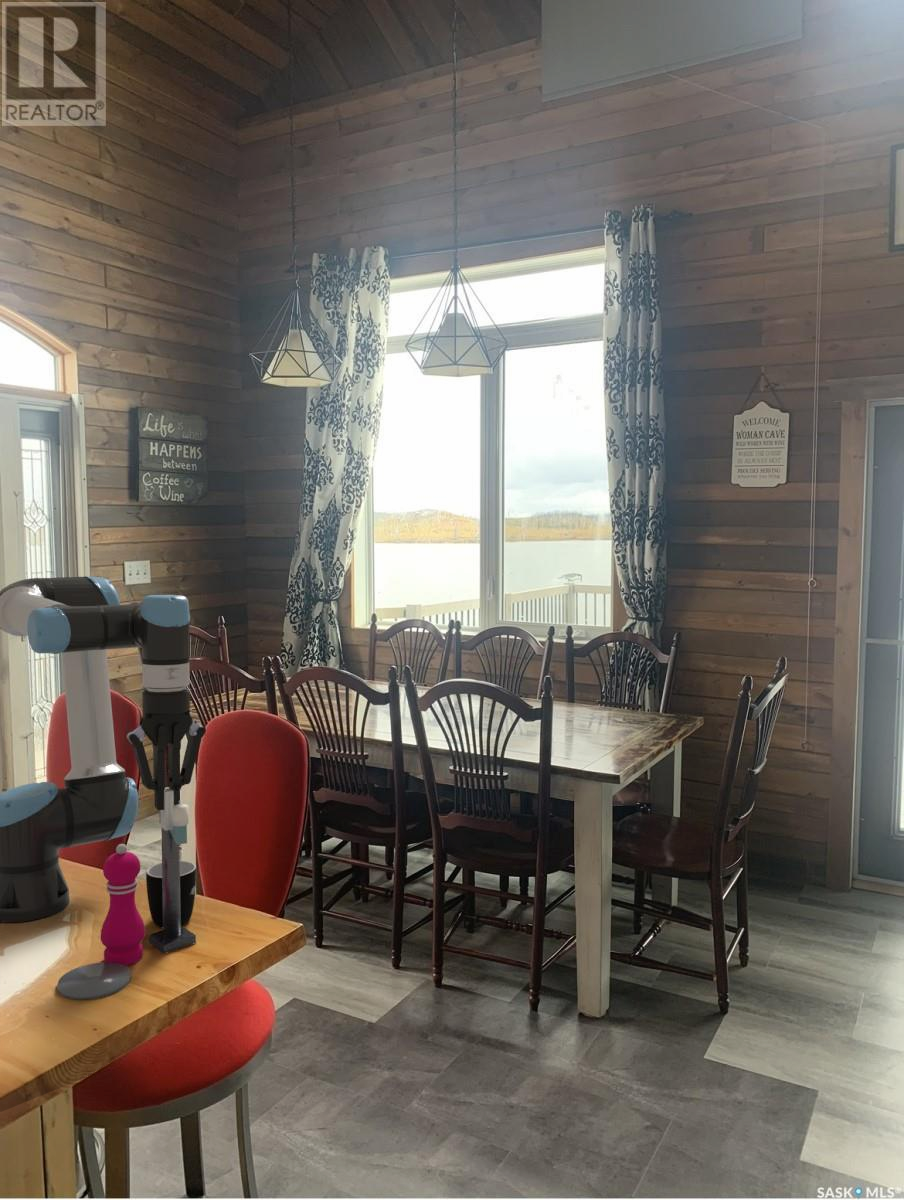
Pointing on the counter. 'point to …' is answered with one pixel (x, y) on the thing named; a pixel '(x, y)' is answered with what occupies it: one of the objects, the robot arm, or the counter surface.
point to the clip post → (171, 901)
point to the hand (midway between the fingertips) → (167, 827)
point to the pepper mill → (122, 909)
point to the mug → (157, 895)
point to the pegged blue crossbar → (179, 823)
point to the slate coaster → (94, 980)
